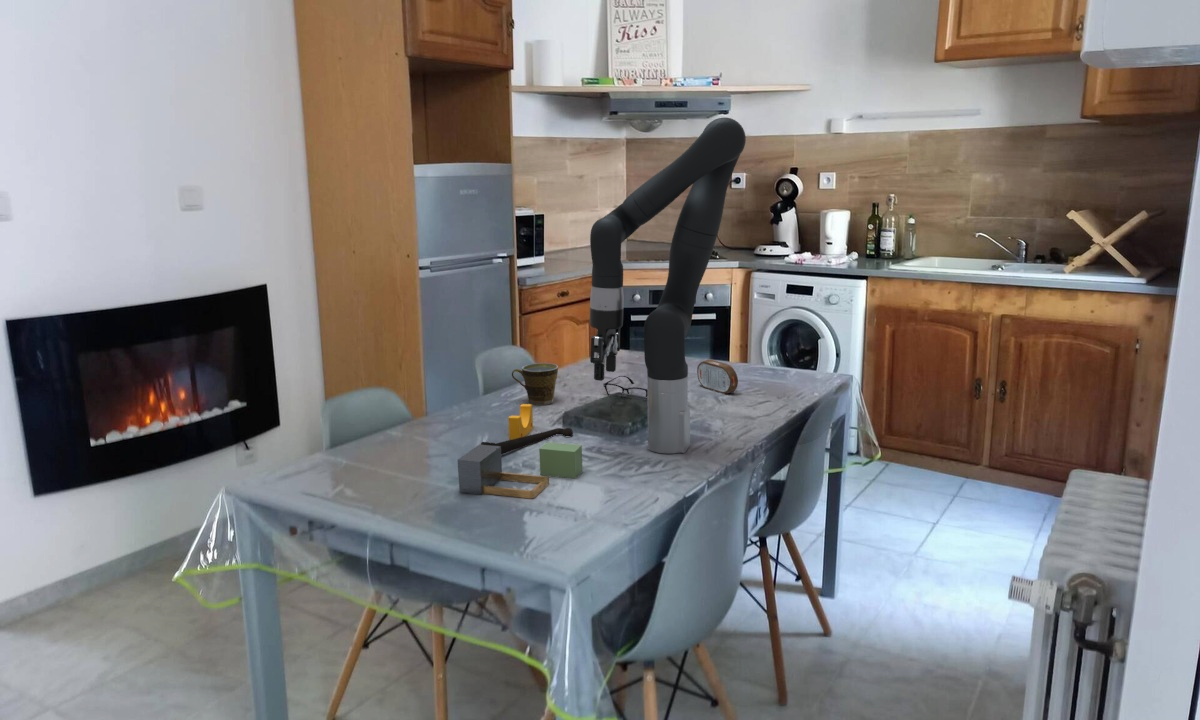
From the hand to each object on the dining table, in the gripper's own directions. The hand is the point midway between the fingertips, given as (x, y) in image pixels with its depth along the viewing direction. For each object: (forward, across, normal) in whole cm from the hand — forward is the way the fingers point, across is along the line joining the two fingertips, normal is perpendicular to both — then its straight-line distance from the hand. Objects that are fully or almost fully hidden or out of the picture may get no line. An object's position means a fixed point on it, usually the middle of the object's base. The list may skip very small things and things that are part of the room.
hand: (605, 375), depth 203 cm
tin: (+17, +56, -16) cm, 60 cm away
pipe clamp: (+19, +3, +23) cm, 30 cm away
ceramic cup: (+19, +32, +30) cm, 48 cm away
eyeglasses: (+18, +49, +5) cm, 52 cm away
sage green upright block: (+17, -19, +3) cm, 26 cm away
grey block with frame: (+18, -30, +11) cm, 37 cm away
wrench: (+19, -7, +17) cm, 26 cm away
